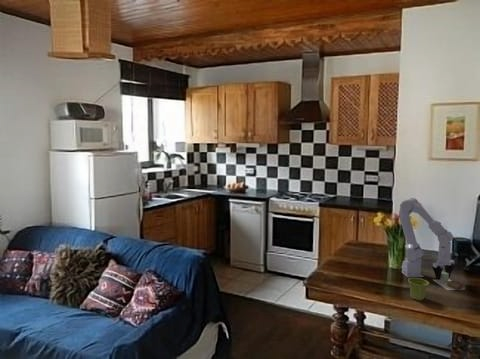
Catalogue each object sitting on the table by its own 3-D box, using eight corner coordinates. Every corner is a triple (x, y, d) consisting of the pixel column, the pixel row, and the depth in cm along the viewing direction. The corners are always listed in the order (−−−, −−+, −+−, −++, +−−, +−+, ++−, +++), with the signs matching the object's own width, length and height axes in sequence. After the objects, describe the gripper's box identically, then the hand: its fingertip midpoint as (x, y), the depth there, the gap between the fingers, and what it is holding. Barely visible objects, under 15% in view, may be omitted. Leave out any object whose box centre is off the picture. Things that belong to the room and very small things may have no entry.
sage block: (443, 283, 214) (443, 274, 214) (436, 280, 218) (437, 272, 217) (448, 282, 216) (448, 273, 216) (441, 279, 220) (442, 271, 219)
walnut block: (457, 289, 206) (457, 285, 206) (447, 285, 211) (447, 281, 211) (465, 288, 208) (465, 283, 208) (454, 283, 214) (455, 279, 214)
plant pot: (422, 294, 202) (423, 277, 201) (431, 302, 193) (432, 284, 192) (403, 294, 202) (404, 277, 201) (412, 302, 193) (413, 285, 192)
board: (447, 291, 206) (447, 289, 206) (432, 280, 220) (432, 279, 220) (465, 290, 207) (465, 289, 207) (449, 280, 221) (449, 279, 221)
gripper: (441, 257, 209) (439, 282, 210) (460, 254, 215) (458, 278, 216) (430, 254, 215) (428, 278, 217) (448, 250, 221) (447, 274, 223)
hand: (442, 278), depth 217 cm, fingers open, 7 cm apart
